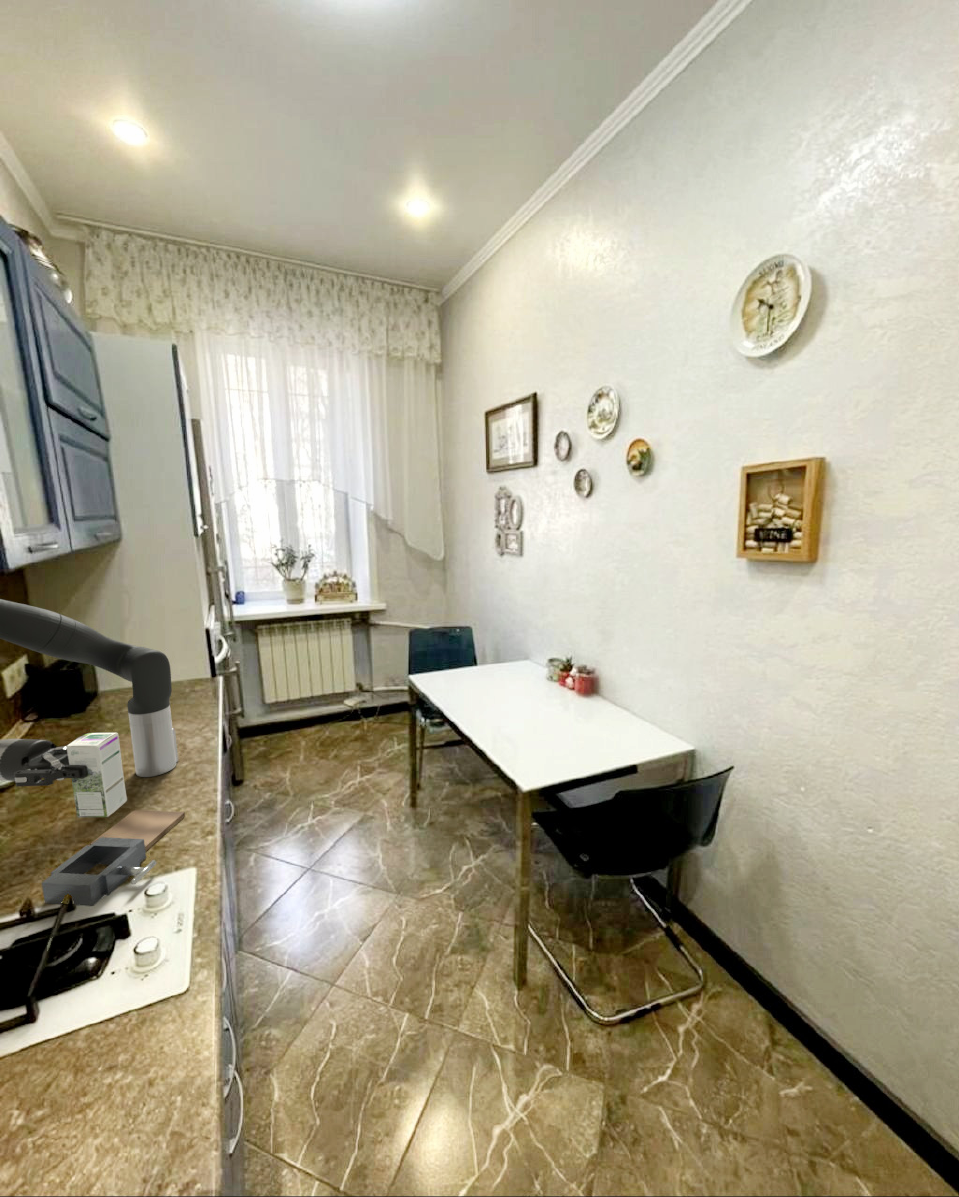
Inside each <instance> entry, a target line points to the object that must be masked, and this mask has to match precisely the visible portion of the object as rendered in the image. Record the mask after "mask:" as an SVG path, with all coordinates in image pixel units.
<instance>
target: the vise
mask: <svg viewBox="0 0 959 1197" xmlns="http://www.w3.org/2000/svg"><path fill="white" fill-rule="evenodd" d="M146 858H147V851H145V844H144V839H128V838H107V837H101V838H99V839H98V840H97V841H96V842H94V843H93V844H92V845H90V844H89V845H88V844H87V845H85V846H84V847H83V848H81V849H80V850H79V851H77V852H76V853H75V854H73V855H71V857H69V858H68V859H67V860H66V861H64V862H62V863H61V864H60V865H59V866H57V867H56V868H55V869H53V870H52V871H51V872H50V874H51V875H49V876H48V877H47V878H45V880H43V881H42V882H41V887H42V894H43V901H44V904H50V905H51V904H54V905H62V904H61V902H62V901H63V899H64V897H65V895H67V894H69V895H71V896H72V898H73V901H74V904H75V905H74V906H87V907H94V906H96V905H95V904H97V903H98V902H100V901H101V899H102V898H104V897H105V896H110V895H111V894H113V892H114V891H116V890H117V889H118V888H119V887H120V886H121V885H122V884H123V883H124V882H126V881H127V879H128V878H129V877H131V876H134V877H133V878H132V879H131V880H130V884H131V885H133V886H134V885H136V884H137V883H138V882H139V881H140V880H141V879H142V878H143V877H144V876H146V875H147V874H148V873H149V871H151V870H152V869H153V868H154V867H155V866H156V865H157V861H156V860H155V859H153V860H151V861H150V862H149V863H148V864H146V866H145V867H141V863H142V862H143V861H144V860H145V859H146ZM97 865H103V866H104V865H108V866H107V867H106V868H104V869H103V870H102V871H101V872H100V873H99V874H87V873H88V872H89V871H90V870H91V869H92V868H94V867H96V866H97Z"/></svg>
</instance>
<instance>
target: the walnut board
mask: <svg viewBox="0 0 959 1197" xmlns="http://www.w3.org/2000/svg"><path fill="white" fill-rule="evenodd" d="M185 816H186V814H185V811H169V810H166V811H163V810H145V809H144V810H141V809H134V810H132V811H131V812H130V813H129V814H127V815H126V816H125V817H123V818H122V819H120V820H119V821H118V822H117V823H115V824H114V825H113V826H112V827H110V828H109V829H107V830H106V831H105V832H103V833H102V834H101V835H100V836H98V837H97V838H95V839H94V840H93V841H92V842H90V843H89V845H92V844H93V843H94V842H96V841H97V840H98V839H99V838H101V837H107V838H128V839H144V844H145V852H147V851H148V850H149V849H150V848H151V847H152V846H154V845H155V843H157V842H159V840H160V839H161V838H162V837H164V836H165V835H166V834H167V833H168V832H169V831H170V830H171V829H172V828H174V826H176V825H177V824H178V823H179V822H180V821H182V820H183V819H184V818H185Z"/></svg>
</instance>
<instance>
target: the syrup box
mask: <svg viewBox="0 0 959 1197" xmlns="http://www.w3.org/2000/svg"><path fill="white" fill-rule="evenodd" d="M119 737H120V736H119V733H118V732H88V733H85V734H83V735H82V736H79V737H77V738H76V739H74V740H73V741H72V742H70V743H69V744H67V745H66V746H67V753H68V759H69V765H85V766H86V767H87V771H88V776H87V777H85V778H84V779H78V778H76V779H75V778H70V780H71V784H72V785H71V786H72V791H73V798H74V799H73V800H74V804H75V811H76V817H77V818H108V817H110V816H111V815H112V814H114V813H115V812H116V811H117V810H119V809H120V807H122V806H123V805H124V804H125V803H126V802H127V801H128V797H127V791H126V784H125V777H124V769H123V762H122V754H121V753H122V752H121V746H120V744H121V743H120V738H119Z"/></svg>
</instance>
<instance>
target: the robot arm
mask: <svg viewBox="0 0 959 1197" xmlns="http://www.w3.org/2000/svg"><path fill="white" fill-rule="evenodd" d="M0 640H4V641H6V642H8V643H11V644H14V645H17V646H20V647H22V648H24V649H25V648H26V649H28V650H30V651H32V652H37V653H40V654H43V655H46V656H49V657H52V658H55V659H60V660H65V661H69V662H75V663H79V664H80V663H82V664H87V665H91V666H94V667H97V668H100V669H103V670H105V671H107V672H109V673H112V674H114V675H116V676H117V677H120V678H122V679H123V680H125V681H129V682H131V685H132V697H131V698H130V699H129V700H127V705H126V706H127V713H128V721H129V728H130V737H131V746H132V754H133V762H134V769H135V775H136V776H138V777H141V778H151V777H156V776H160V775H163V774H165V773H168V772H169V771H172V770H173V769H174V768H176V766H177V763H178V762H179V754H178V752H179V751H178V743H177V736H176V734H177V733H176V729H175V728H173V721H172V712H171V704H170V699H171V695H172V693H173V692H172V690H173V689H172V688H173V687H172V672H171V671H172V670H171V664H170V661H169V658H168V656H167V655H166V654H165V653H164V652H163V651H160V650H156V649H153V648H150V647H149V648H148V647H144V646H139V645H134V644H130V643H127V642H123V641H122V642H121V641H118V640H115V639H113V638H110V637H107V636H105V635H104V634H102V633H101V632H99V631H97V630H95V629H94V628H92V627H90V626H89V625H87V624H84V623H82V622H81V621H78V620H75V619H73V618H71V617H69V616H66V615H63V614H60V613H58V612H56V611H53V610H49V609H45V608H41V607H37V606H32V605H29V604H24V603H20V602H19V603H18V602H15V601H11V600H6V599H1V598H0ZM87 776H88V771H87V767H86V766H85V765H69V759H68V753H67V745H62V746H57V745H56V744H54V743H53V742H52V741H50V740H48V739H35V738H33V739H31V738H30V739H29V738H5V739H0V781H4V782H7V781H8V782H15V786H16V787H39V786H40V787H43V786H44V787H45V786H52V785H53V784H54V782H55V781H56V780H57V781H63V780H65V779H71V778H75V779H76V778H78V779H84V778H85V777H87Z"/></svg>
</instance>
